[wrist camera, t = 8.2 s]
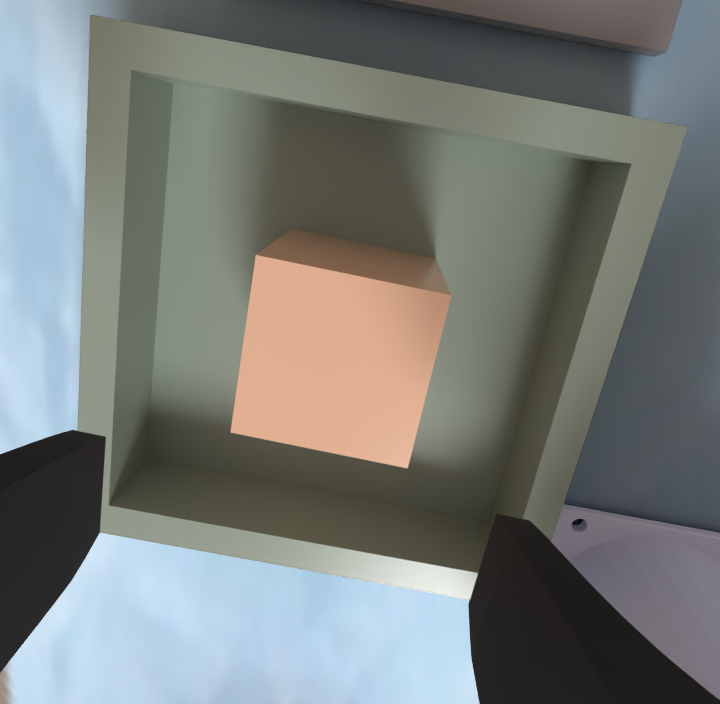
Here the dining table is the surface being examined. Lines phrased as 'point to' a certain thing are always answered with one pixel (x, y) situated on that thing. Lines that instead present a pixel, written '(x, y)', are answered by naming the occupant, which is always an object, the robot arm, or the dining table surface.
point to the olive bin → (364, 225)
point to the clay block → (339, 346)
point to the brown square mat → (566, 19)
